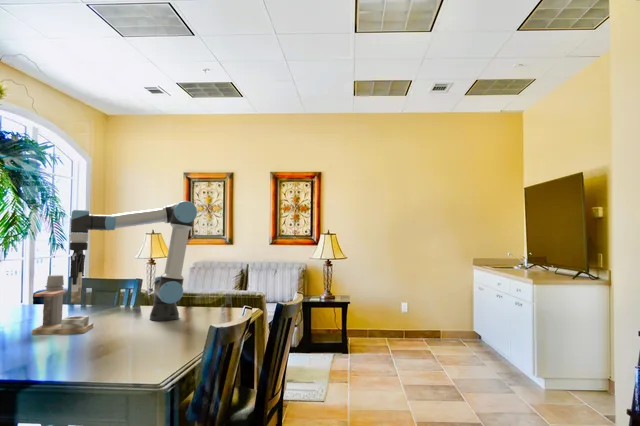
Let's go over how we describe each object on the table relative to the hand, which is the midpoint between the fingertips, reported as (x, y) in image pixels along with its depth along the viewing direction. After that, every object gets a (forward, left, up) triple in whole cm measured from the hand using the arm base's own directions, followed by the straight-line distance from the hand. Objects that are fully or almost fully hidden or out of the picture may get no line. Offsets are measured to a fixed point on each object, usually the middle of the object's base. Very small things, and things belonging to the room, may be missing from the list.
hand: (76, 290), depth 205 cm
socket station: (+5, -1, -19) cm, 19 cm away
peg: (0, 0, -5) cm, 5 cm away
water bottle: (+14, -12, -19) cm, 26 cm away
